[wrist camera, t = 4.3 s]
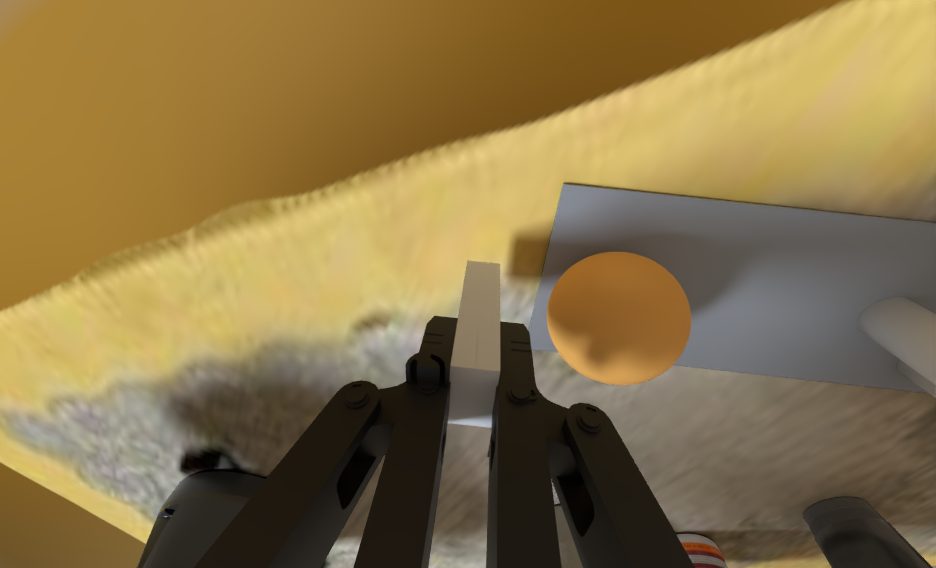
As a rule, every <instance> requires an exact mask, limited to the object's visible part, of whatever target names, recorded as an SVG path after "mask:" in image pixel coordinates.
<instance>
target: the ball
mask: <svg viewBox="0 0 936 568" xmlns="http://www.w3.org/2000/svg"><path fill="white" fill-rule="evenodd" d="M547 325H548V330H549V334H550V337H551V340H552V342H553V344H554V346H555V347H556V349H557V351H558V353H559V354H560V355H561V356H562V358H563V359H564V360H565V361H566V362H567V363H568V364H569V365H570V366H571V367H572V368H574V369H575V370H576V371H578V372H579V373H581V374H583V375H584V376H586V377H588V378H590V379H593V380H595V381H599V382H602V383H606V384H612V385H631V384H638V383H642V382H645V381H648V380H651V379H653V378H655V377H657V376H659V375H660V374H662V373H663V372H665V371H666V370H668V369H669V368H670V367H671V366H672V365H673V364H674V363H675V362H676V361H677V360H678V358H679V357H680V356H681V354H682V353H683V351H684V349H685V347H686V345H687V342H688V339H689V336H690V331H691V311H690V306H689V302H688V299H687V297H686V294H685V292H684V290H683V288H682V287H681V285H680V284H679V283H678V281H677V280H676V279H675V277H674V276H673V275H672V274H671V273H669V272H668V271H667V270H666V269H665V268H664V267H662V266H661V265H659V264H658V263H656V262H655V261H653V260H651V259H649V258H646V257H644V256H640V255H637V254H634V253H628V252H605V253H599V254H595V255H592V256H589V257H587V258H584V259H583V260H581V261H579V262H577V263H576V264H574V265H573V266H571V267H570V268H569V269H568V270H567V271H566V272H565V273H564V274H563V275H562V276H561V277H560V279H559V280H558V281H557V283H556V284H555V286H554V288H553V290H552V292H551V295H550V298H549V301H548V307H547Z"/></svg>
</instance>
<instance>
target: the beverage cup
mask: <svg viewBox="0 0 936 568" xmlns="http://www.w3.org/2000/svg"><path fill="white" fill-rule="evenodd" d="M804 519H805V520H806V521H807V523H808V524H809V526H810V529H811V531H812V533H813V534H814V536H815V539H816V541H817V543H818V545H819V546H820V548H821V550H822V551H823V553H824V555H825V557H826V558H827V560H828V562H829V563H830V565H831V567H832V568H933V567H932V566H931V565H930V564H929V563H928V562H927V561H926V560H925V559H924V558H923V557H922V556H921V555H920V554H919V553H918V552H917V551H916V550H915V549H914V548H913V547H912V546H911V545H910V544H909V543H908V542H907V541H906V540H905V539H904V538H903V537H902V536H901V535H900V534H899V533H898V532H897V530H896V529H895V528H894V527H893V526H892V525H891V524H890V523H888V522H887V521H886V520H885V519H884V518H883V517H882V516H881V515H880V514H879V513H877V512H876V511H875V510H874V509H873V508H872V507H871V506H870V505H869V503H868V502H867V501H865V500H863V499H860V498H855V497H840V498H832V499H828V500H824V501H821V502H819V503H816V504H814V505H812V506H811V507H809V508H808V509H807V510H806V511H805V512H804Z"/></svg>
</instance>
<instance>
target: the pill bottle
mask: <svg viewBox="0 0 936 568" xmlns="http://www.w3.org/2000/svg"><path fill="white" fill-rule="evenodd" d="M676 535H677V537H678V538H679V540H680V542H681V544H682V545H683V547H684V549H685V551H686V552H687V554H688V556H689V558H690V559H691V561H692V563H693V565H694V566H695V568H728V567H727V565H726V563H725V561H724V559H723V556H722V554H721V552H720V551H719V549H718V547H717V545H716V544H715V543H714V542H713V541H712V540H710V539H708V538H706V537H704V536H701V535H697V534H676Z"/></svg>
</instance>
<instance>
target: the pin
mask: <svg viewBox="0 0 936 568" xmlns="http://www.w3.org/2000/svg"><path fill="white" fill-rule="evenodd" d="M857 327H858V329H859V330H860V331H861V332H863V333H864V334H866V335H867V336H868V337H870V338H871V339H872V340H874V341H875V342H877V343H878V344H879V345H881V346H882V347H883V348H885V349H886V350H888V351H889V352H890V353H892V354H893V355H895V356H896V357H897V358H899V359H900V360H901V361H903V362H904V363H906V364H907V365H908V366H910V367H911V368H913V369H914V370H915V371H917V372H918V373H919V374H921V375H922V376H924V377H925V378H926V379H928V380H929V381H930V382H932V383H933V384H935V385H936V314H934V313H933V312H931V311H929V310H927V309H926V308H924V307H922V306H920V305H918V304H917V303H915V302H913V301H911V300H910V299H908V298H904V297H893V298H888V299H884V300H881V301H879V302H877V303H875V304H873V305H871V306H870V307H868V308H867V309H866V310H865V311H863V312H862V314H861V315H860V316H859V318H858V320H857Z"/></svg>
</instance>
